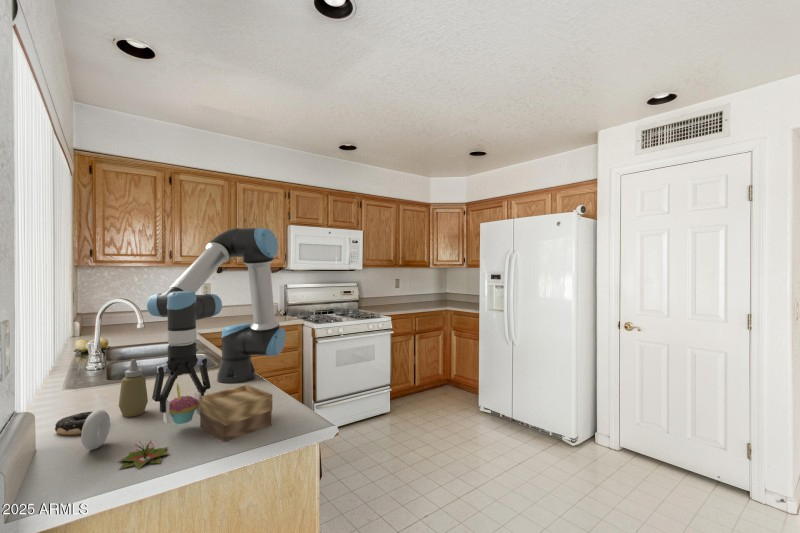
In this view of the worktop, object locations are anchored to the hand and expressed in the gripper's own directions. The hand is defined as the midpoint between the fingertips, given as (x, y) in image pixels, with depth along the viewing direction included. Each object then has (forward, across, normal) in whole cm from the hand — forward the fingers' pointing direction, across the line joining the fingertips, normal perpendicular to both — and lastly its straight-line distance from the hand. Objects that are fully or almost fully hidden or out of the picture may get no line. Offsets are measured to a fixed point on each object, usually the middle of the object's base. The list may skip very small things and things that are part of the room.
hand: (182, 417), depth 120 cm
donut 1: (+3, +20, -22) cm, 30 cm away
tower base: (+4, -11, +10) cm, 16 cm away
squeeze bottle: (+3, +6, -24) cm, 25 cm away
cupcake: (+1, 0, 0) cm, 1 cm away
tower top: (-1, -12, +10) cm, 16 cm away
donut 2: (+3, +20, -4) cm, 21 cm away
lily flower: (+3, +14, +12) cm, 19 cm away
